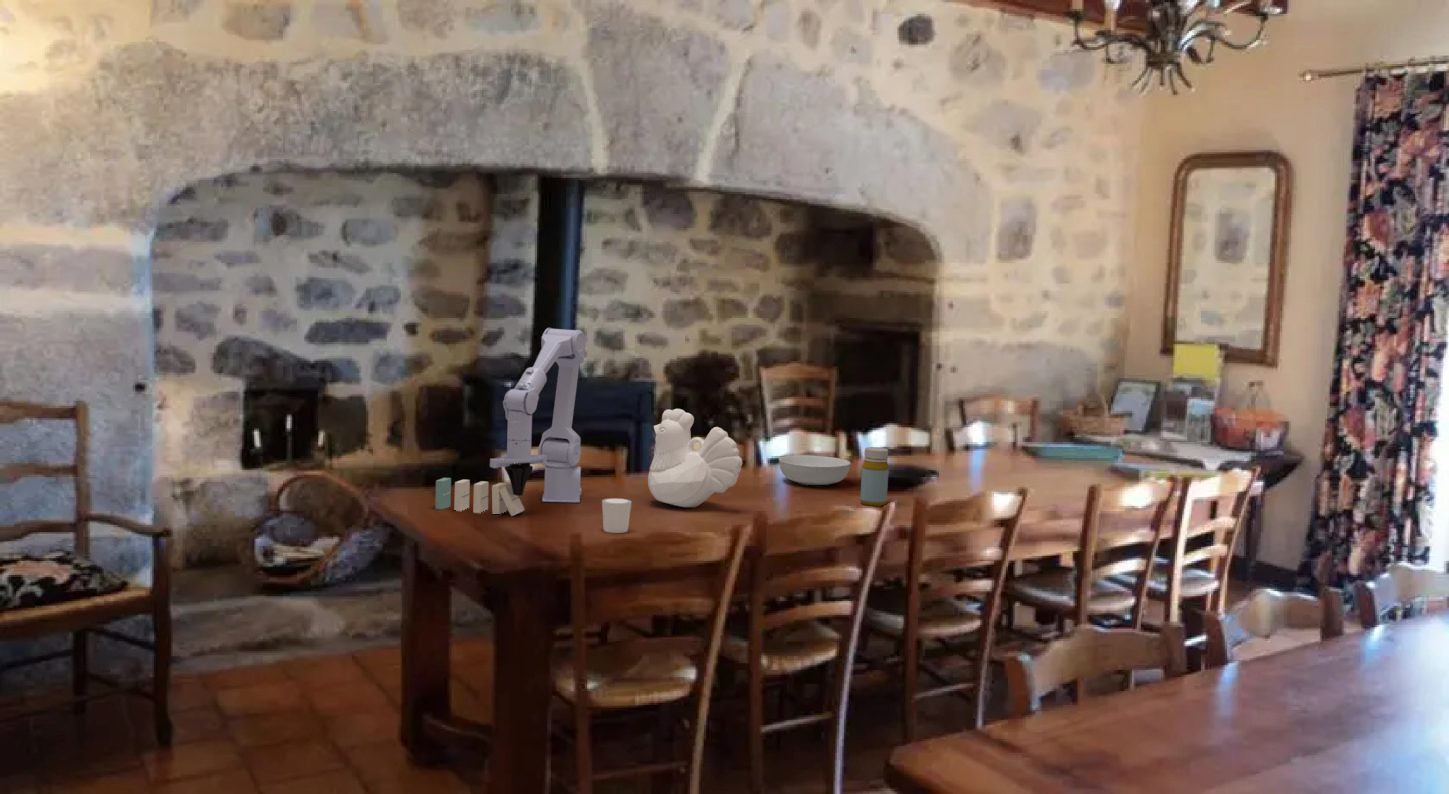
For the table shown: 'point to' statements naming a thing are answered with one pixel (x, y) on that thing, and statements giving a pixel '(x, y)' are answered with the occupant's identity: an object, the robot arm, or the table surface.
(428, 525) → the table surface
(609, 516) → the shot glass
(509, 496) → the lead tile
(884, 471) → the bottle
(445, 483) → the tile
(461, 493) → the tile
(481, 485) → the tile
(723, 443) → the decorative rooster
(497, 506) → the tile
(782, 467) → the serving bowl
